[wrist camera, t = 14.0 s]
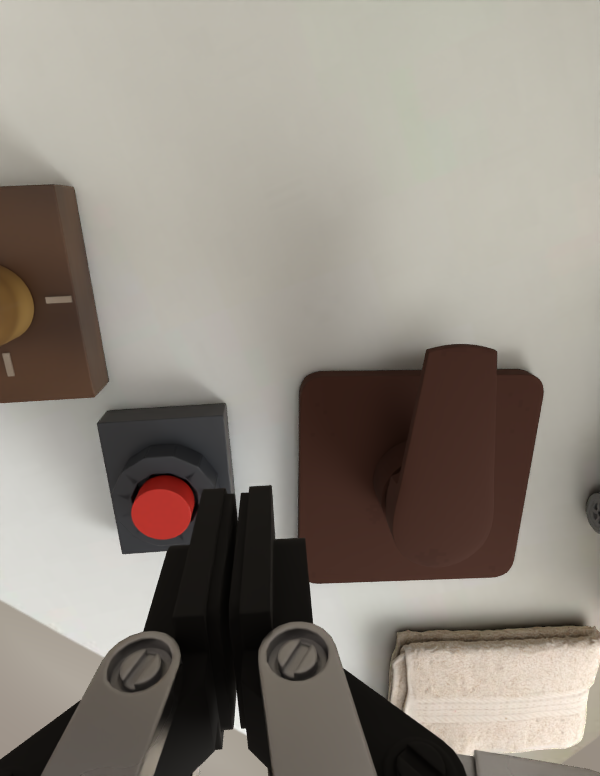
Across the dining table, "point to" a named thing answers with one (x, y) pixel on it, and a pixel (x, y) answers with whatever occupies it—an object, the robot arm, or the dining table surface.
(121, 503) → the switch block
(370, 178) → the dining table surface
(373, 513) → the lever handle
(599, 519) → the toy car
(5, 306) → the dimmer knob
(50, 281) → the dimmer panel
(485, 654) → the washcloth
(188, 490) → the power button
